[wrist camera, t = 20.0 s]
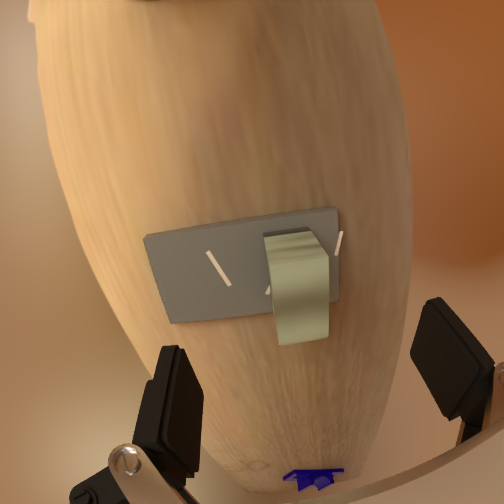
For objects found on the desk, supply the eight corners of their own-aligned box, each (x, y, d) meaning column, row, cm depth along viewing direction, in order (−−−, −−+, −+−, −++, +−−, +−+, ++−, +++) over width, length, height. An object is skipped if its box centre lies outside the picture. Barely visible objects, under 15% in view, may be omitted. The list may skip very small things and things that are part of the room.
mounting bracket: (282, 476, 63) (284, 491, 58) (294, 468, 61) (296, 485, 55) (330, 475, 66) (333, 489, 61) (343, 467, 64) (346, 482, 58)
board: (146, 234, 31) (142, 239, 30) (338, 206, 31) (342, 209, 29) (172, 317, 36) (170, 323, 35) (339, 294, 36) (342, 300, 34)
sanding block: (262, 232, 30) (269, 265, 23) (307, 226, 30) (328, 256, 23) (271, 301, 34) (279, 345, 26) (311, 295, 34) (328, 337, 26)
